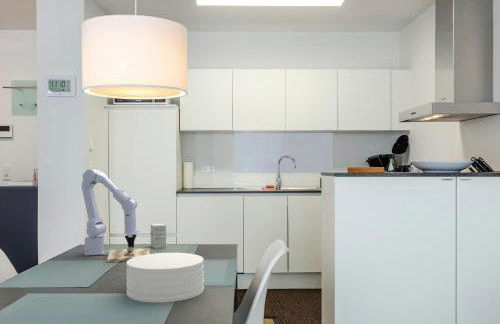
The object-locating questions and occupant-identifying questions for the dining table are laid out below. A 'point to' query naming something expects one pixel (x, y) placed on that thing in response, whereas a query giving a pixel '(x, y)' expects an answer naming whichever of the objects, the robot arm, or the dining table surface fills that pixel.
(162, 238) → the supplement box
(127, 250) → the steel ball
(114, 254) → the birch board
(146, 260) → the plate stack
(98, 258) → the dining table surface
